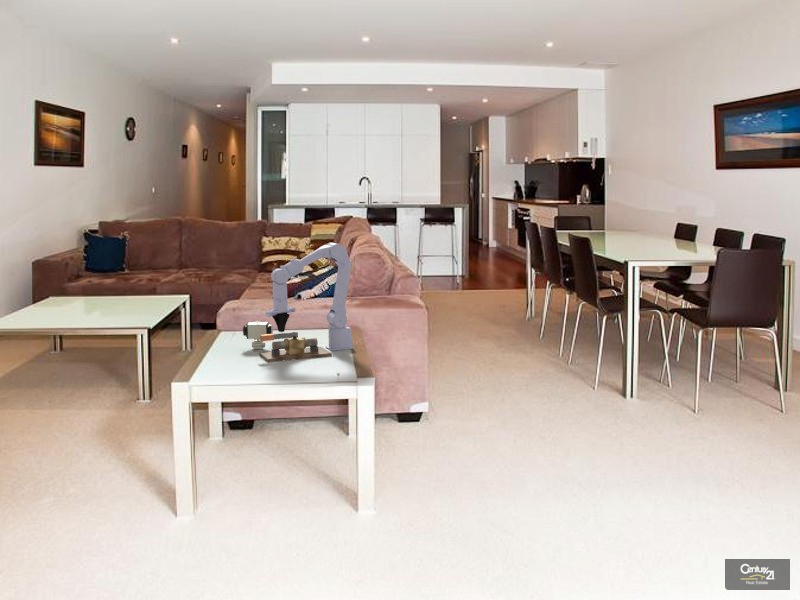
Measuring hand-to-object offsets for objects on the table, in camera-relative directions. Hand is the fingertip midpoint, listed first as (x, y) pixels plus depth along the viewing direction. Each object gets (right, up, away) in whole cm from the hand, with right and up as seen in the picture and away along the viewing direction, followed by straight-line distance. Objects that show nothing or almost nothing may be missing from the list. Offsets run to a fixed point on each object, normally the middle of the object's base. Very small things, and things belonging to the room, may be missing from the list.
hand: (281, 331), depth 326 cm
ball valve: (+6, -10, -4) cm, 12 cm away
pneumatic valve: (-11, -8, +11) cm, 17 cm away
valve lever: (0, -3, -7) cm, 8 cm away
